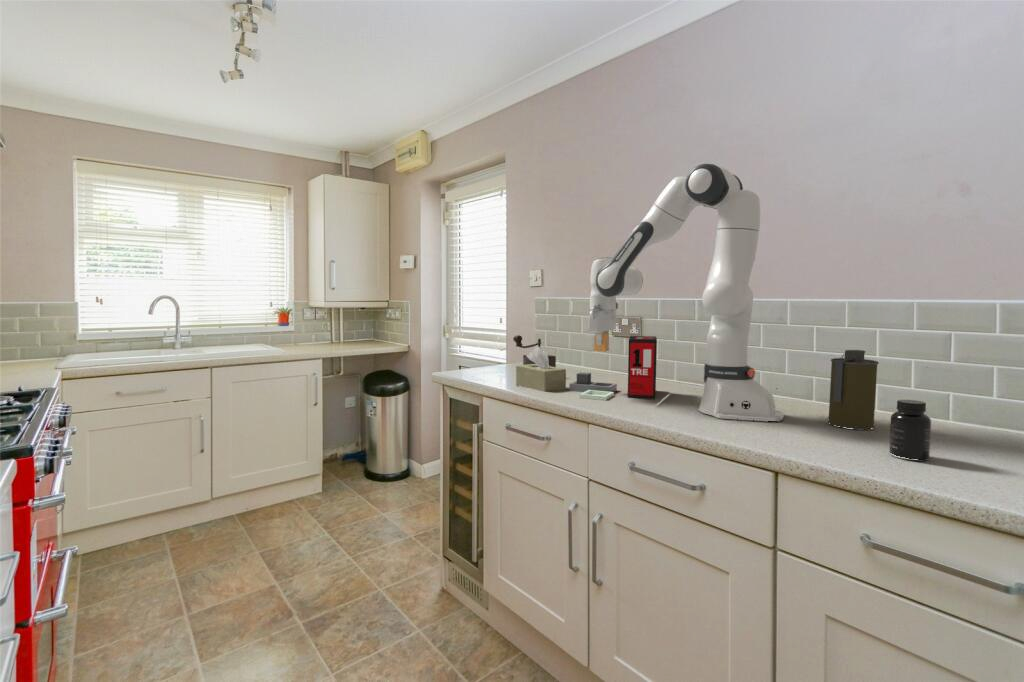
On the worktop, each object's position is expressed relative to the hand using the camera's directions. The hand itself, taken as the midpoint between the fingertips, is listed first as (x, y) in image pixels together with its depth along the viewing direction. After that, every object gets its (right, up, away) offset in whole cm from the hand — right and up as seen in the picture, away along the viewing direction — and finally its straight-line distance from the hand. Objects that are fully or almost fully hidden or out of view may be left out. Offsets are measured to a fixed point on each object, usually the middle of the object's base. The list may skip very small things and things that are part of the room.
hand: (601, 344), depth 180 cm
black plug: (-6, -17, +6) cm, 18 cm away
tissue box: (-21, -17, +12) cm, 30 cm away
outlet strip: (-2, -17, +4) cm, 18 cm away
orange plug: (0, -2, 0) cm, 2 cm away
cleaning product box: (+14, -18, -2) cm, 23 cm away
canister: (+58, -22, -44) cm, 76 cm away
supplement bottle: (+53, -24, -70) cm, 91 cm away
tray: (-3, -18, -8) cm, 20 cm away
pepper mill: (-22, -15, +37) cm, 46 cm away
